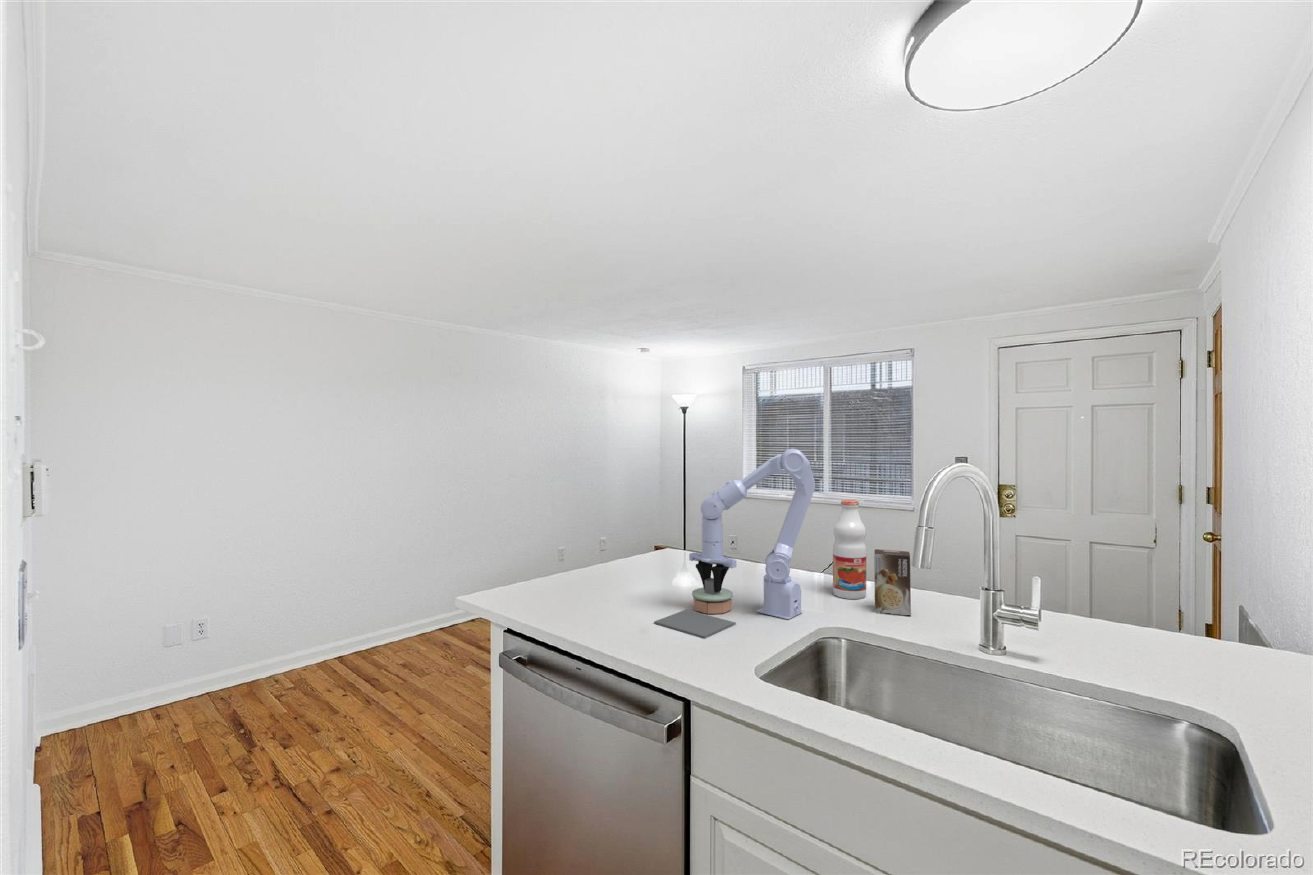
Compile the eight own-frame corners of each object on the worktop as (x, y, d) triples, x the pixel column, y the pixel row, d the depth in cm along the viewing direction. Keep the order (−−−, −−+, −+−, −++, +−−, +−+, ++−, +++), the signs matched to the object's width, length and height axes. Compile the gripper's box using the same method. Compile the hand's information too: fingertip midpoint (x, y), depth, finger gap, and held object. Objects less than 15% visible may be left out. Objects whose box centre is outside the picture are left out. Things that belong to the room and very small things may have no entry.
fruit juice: (857, 590, 179) (858, 498, 179) (871, 599, 170) (872, 502, 169) (827, 591, 178) (828, 498, 178) (840, 600, 169) (840, 503, 169)
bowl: (737, 608, 162) (737, 597, 162) (716, 617, 155) (716, 605, 155) (708, 600, 169) (708, 590, 169) (686, 609, 161) (686, 598, 161)
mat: (735, 624, 149) (735, 622, 149) (704, 638, 139) (704, 636, 139) (685, 611, 159) (685, 609, 159) (654, 623, 150) (654, 621, 150)
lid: (740, 594, 162) (740, 579, 162) (717, 604, 154) (717, 587, 154) (708, 587, 169) (708, 572, 169) (684, 596, 161) (684, 580, 161)
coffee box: (910, 610, 160) (910, 551, 160) (911, 617, 154) (911, 556, 154) (874, 606, 164) (874, 548, 163) (873, 612, 158) (874, 553, 158)
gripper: (682, 539, 163) (682, 588, 163) (725, 546, 153) (725, 598, 154) (697, 535, 168) (698, 583, 169) (740, 542, 159) (740, 592, 159)
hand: (712, 590), depth 162 cm, fingers closed on lid, 3 cm apart
